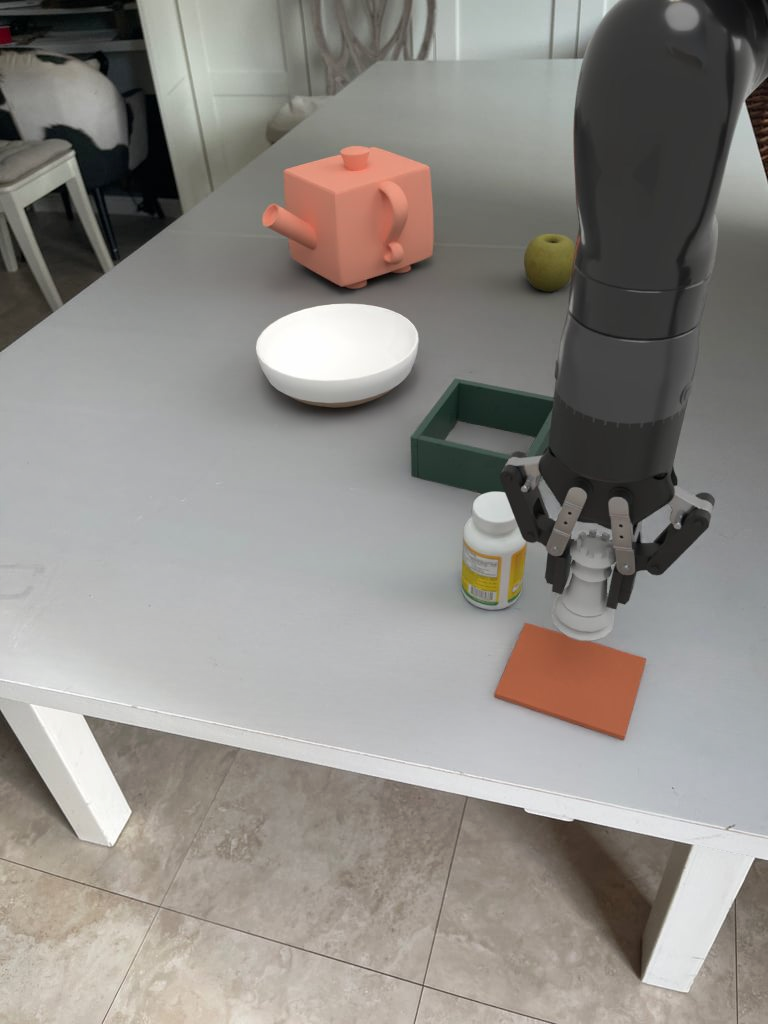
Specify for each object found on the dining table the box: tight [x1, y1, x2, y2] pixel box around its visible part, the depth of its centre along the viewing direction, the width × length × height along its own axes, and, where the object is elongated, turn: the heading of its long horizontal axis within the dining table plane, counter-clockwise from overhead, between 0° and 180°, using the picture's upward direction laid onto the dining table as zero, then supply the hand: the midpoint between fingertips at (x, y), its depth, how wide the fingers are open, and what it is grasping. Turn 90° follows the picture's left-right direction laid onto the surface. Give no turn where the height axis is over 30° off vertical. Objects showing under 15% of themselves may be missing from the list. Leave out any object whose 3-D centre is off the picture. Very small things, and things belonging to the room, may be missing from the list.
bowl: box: [255, 303, 420, 408], centre depth 98 cm, size 20×20×6 cm
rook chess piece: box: [551, 528, 616, 642], centre depth 57 cm, size 4×4×8 cm
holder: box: [409, 378, 554, 494], centre depth 85 cm, size 13×13×5 cm
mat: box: [493, 622, 647, 741], centre depth 63 cm, size 10×8×1 cm
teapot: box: [262, 145, 435, 290], centre depth 120 cm, size 25×23×18 cm
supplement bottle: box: [460, 492, 528, 611], centre depth 68 cm, size 5×5×10 cm
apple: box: [523, 233, 576, 293], centre depth 117 cm, size 8×8×7 cm
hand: (586, 592), depth 57 cm, fingers closed on rook chess piece, 3 cm apart
